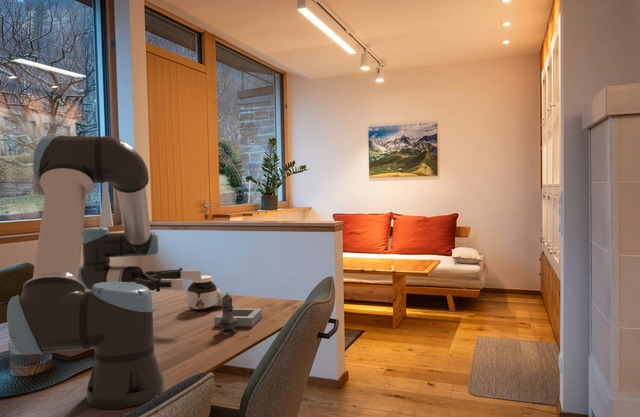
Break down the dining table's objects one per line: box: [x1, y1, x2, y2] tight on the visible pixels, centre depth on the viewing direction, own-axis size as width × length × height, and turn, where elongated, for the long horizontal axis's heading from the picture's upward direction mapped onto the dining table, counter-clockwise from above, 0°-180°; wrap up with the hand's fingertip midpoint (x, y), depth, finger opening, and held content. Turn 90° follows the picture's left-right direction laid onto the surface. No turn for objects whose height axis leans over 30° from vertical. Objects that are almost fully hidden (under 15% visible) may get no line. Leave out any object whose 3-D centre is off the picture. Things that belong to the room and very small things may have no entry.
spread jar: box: [186, 274, 226, 313], centre depth 177 cm, size 12×11×12 cm
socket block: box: [213, 307, 263, 329], centre depth 158 cm, size 12×12×3 cm
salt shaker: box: [218, 292, 238, 336], centre depth 147 cm, size 6×6×12 cm
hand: (192, 279), depth 149 cm, fingers open, 13 cm apart
